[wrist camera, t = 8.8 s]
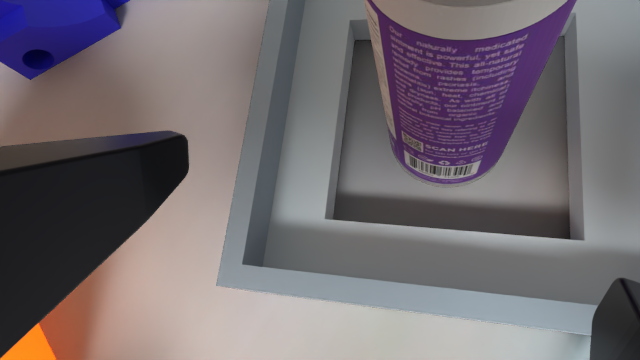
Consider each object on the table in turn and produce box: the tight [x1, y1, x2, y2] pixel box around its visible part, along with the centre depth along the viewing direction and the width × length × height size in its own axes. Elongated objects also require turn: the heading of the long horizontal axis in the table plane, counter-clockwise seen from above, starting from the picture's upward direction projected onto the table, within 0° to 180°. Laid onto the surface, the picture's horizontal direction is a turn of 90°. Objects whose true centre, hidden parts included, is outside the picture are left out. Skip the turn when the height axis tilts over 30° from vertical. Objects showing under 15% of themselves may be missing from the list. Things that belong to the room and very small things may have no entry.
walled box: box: [216, 0, 640, 335], centre depth 17 cm, size 15×15×4 cm
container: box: [364, 0, 577, 187], centre depth 11 cm, size 5×5×15 cm
